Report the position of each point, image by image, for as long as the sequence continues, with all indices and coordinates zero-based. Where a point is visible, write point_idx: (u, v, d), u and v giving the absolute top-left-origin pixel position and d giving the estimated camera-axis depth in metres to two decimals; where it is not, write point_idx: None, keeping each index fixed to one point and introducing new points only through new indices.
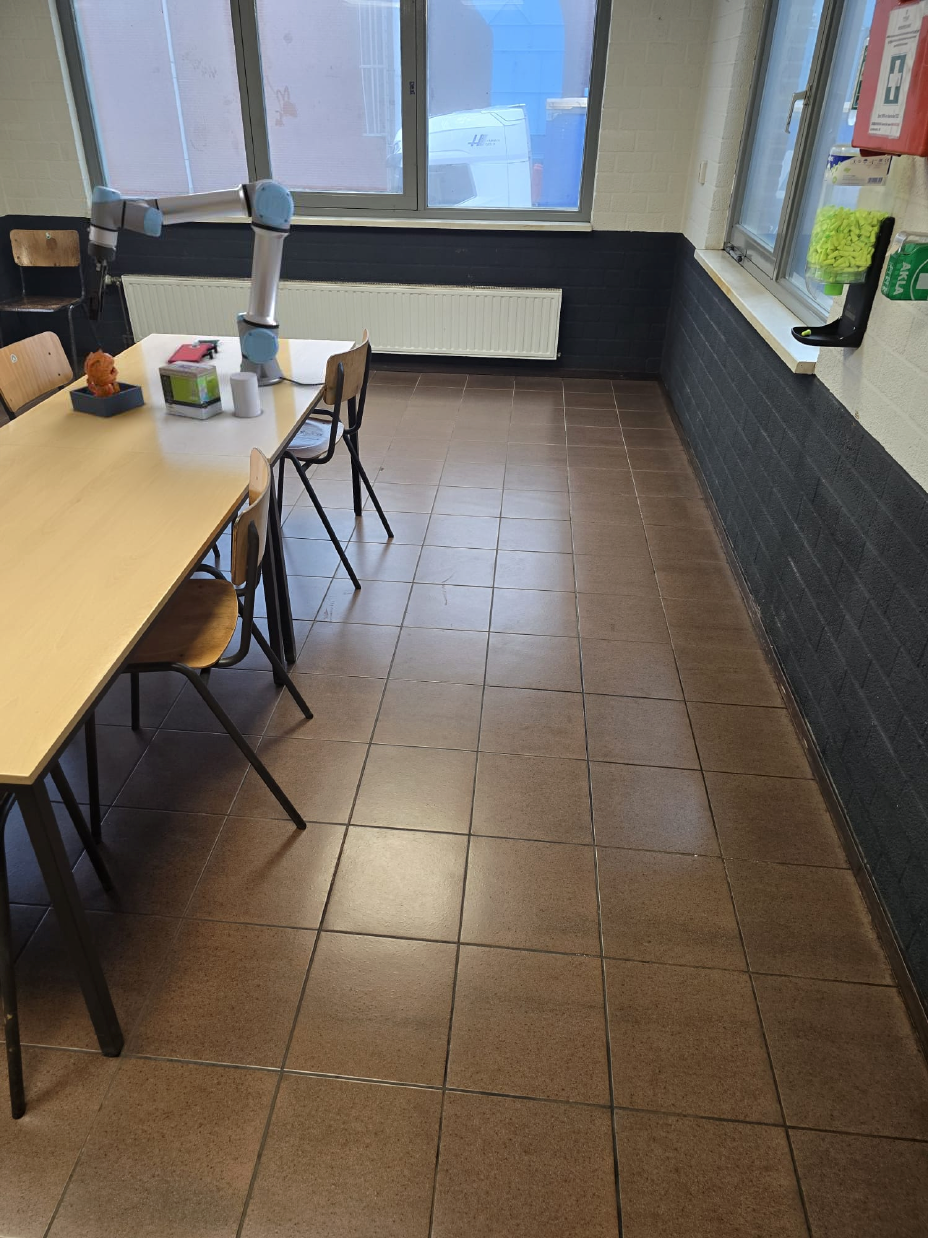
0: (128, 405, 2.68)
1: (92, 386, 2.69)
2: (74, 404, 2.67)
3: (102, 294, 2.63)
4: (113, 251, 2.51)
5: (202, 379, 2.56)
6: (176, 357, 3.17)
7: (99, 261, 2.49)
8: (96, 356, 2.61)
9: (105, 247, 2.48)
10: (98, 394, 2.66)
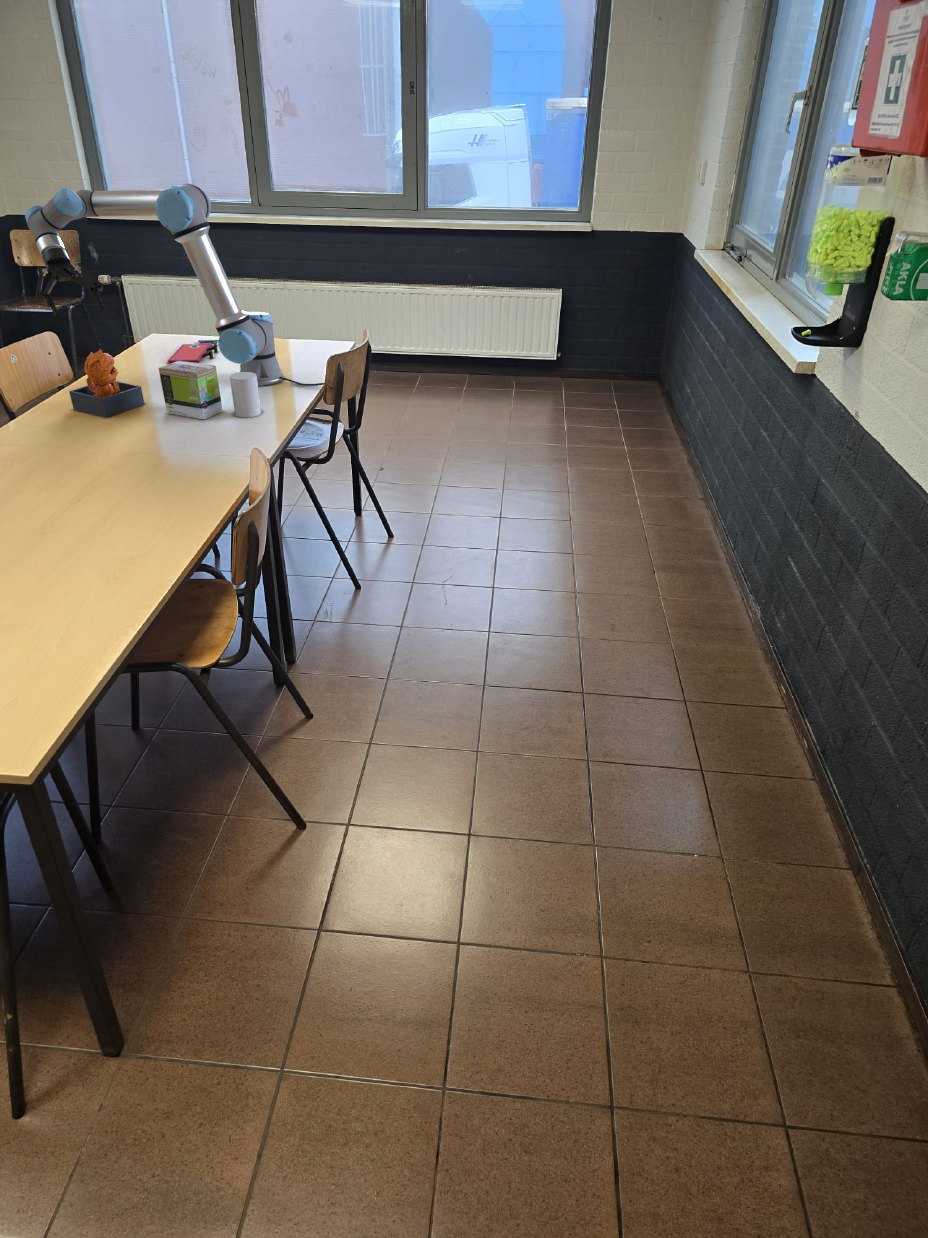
0: (128, 405, 2.68)
1: (92, 386, 2.69)
2: (74, 404, 2.67)
3: (93, 292, 2.66)
4: (50, 250, 2.61)
5: (202, 379, 2.56)
6: (176, 357, 3.17)
7: (47, 267, 2.63)
8: (96, 356, 2.61)
9: None
10: (98, 394, 2.66)
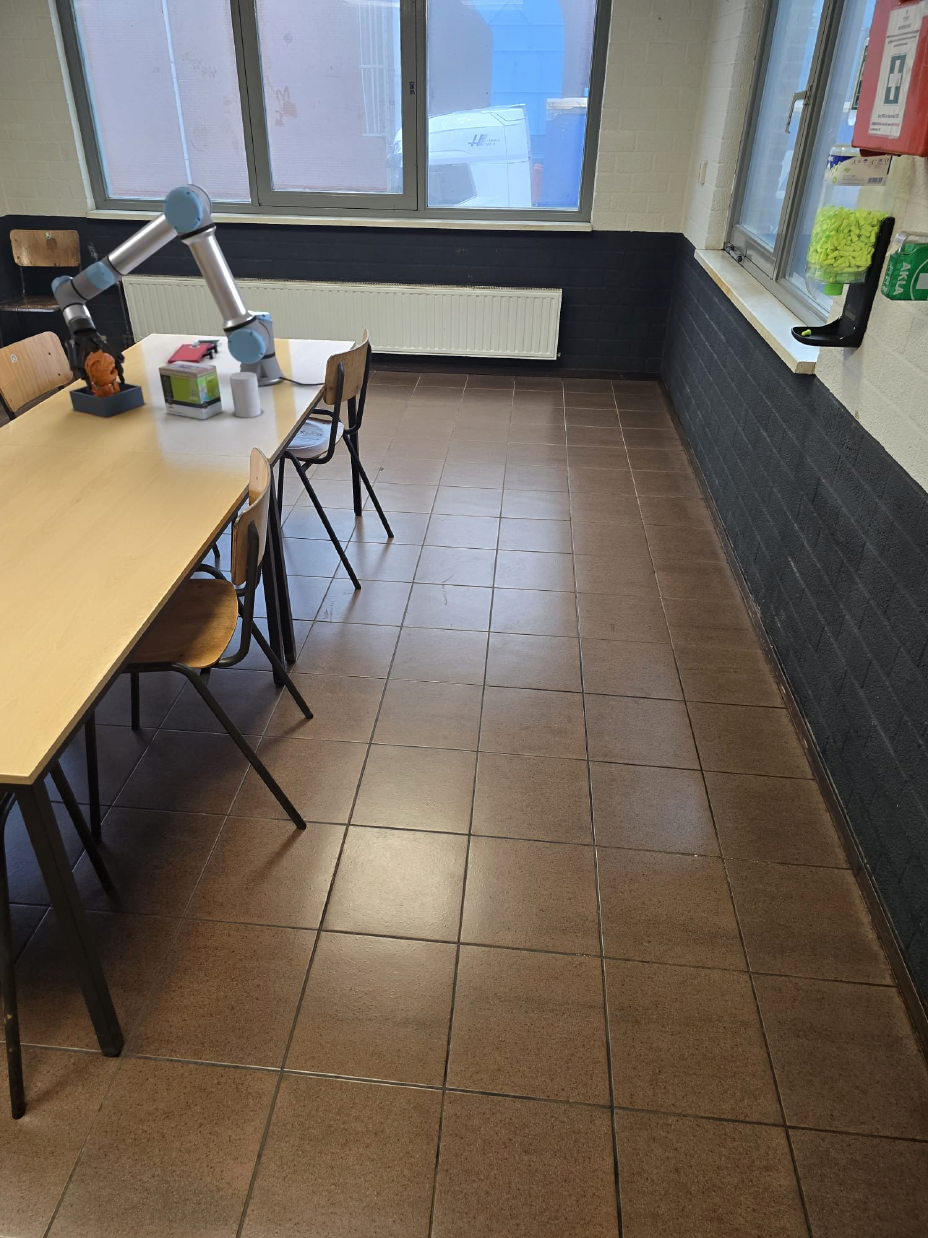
0: (128, 405, 2.68)
1: (92, 386, 2.69)
2: (74, 404, 2.67)
3: (115, 365, 2.67)
4: (76, 321, 2.63)
5: (202, 379, 2.56)
6: (176, 357, 3.17)
7: None
8: (96, 356, 2.61)
9: (70, 323, 2.64)
10: (98, 394, 2.66)
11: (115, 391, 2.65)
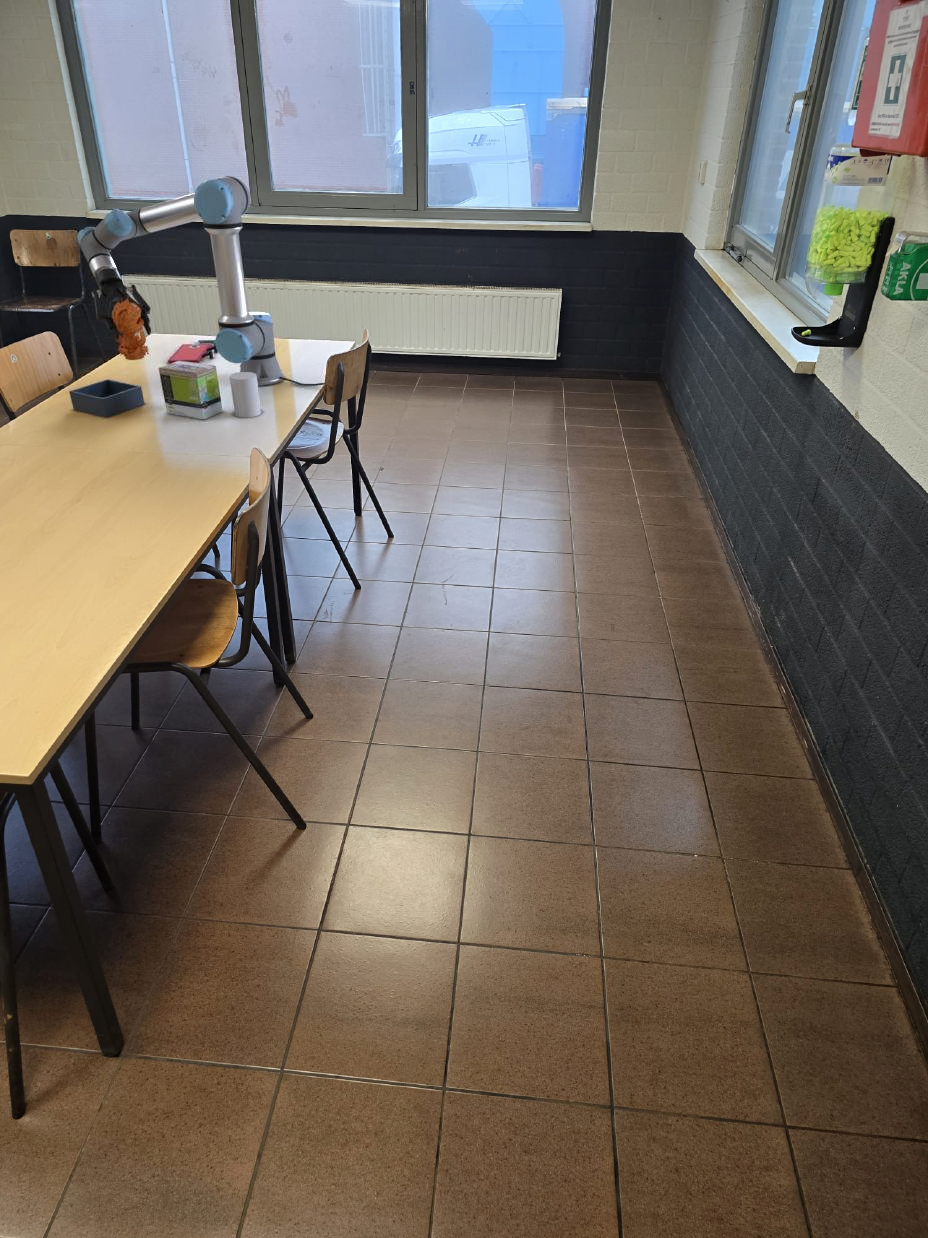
0: (128, 405, 2.68)
1: None
2: (74, 404, 2.67)
3: (141, 316, 2.70)
4: (103, 271, 2.66)
5: (202, 379, 2.56)
6: (176, 357, 3.17)
7: (100, 288, 2.67)
8: (123, 305, 2.64)
9: (96, 274, 2.67)
10: (125, 344, 2.69)
11: (142, 340, 2.68)
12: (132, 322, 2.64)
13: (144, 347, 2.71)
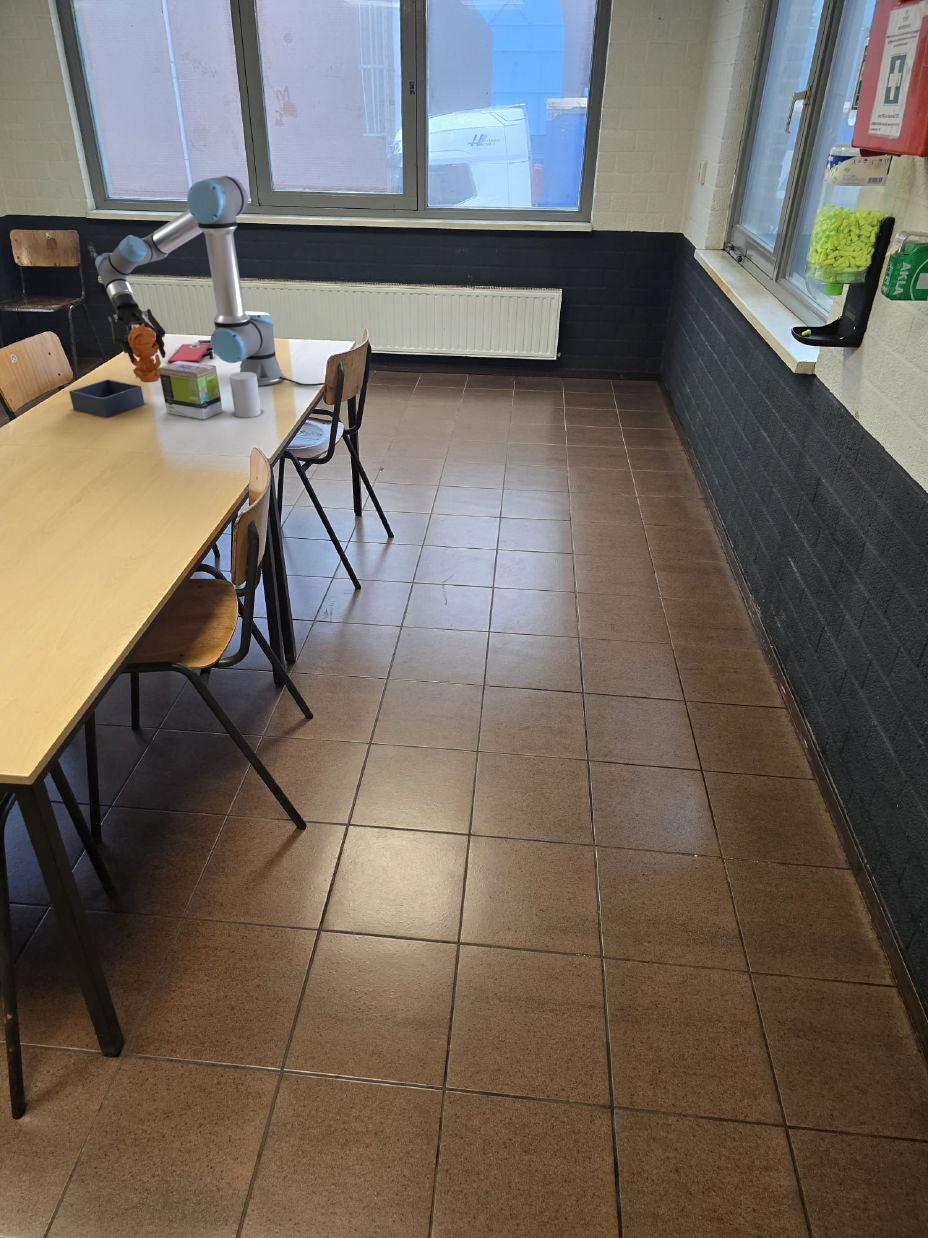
0: (128, 405, 2.68)
1: None
2: (74, 404, 2.67)
3: (156, 339, 2.78)
4: (120, 296, 2.74)
5: (202, 379, 2.56)
6: (176, 357, 3.17)
7: (116, 312, 2.75)
8: (139, 330, 2.72)
9: (113, 299, 2.75)
10: (140, 367, 2.77)
11: (156, 364, 2.76)
12: (147, 346, 2.72)
13: None
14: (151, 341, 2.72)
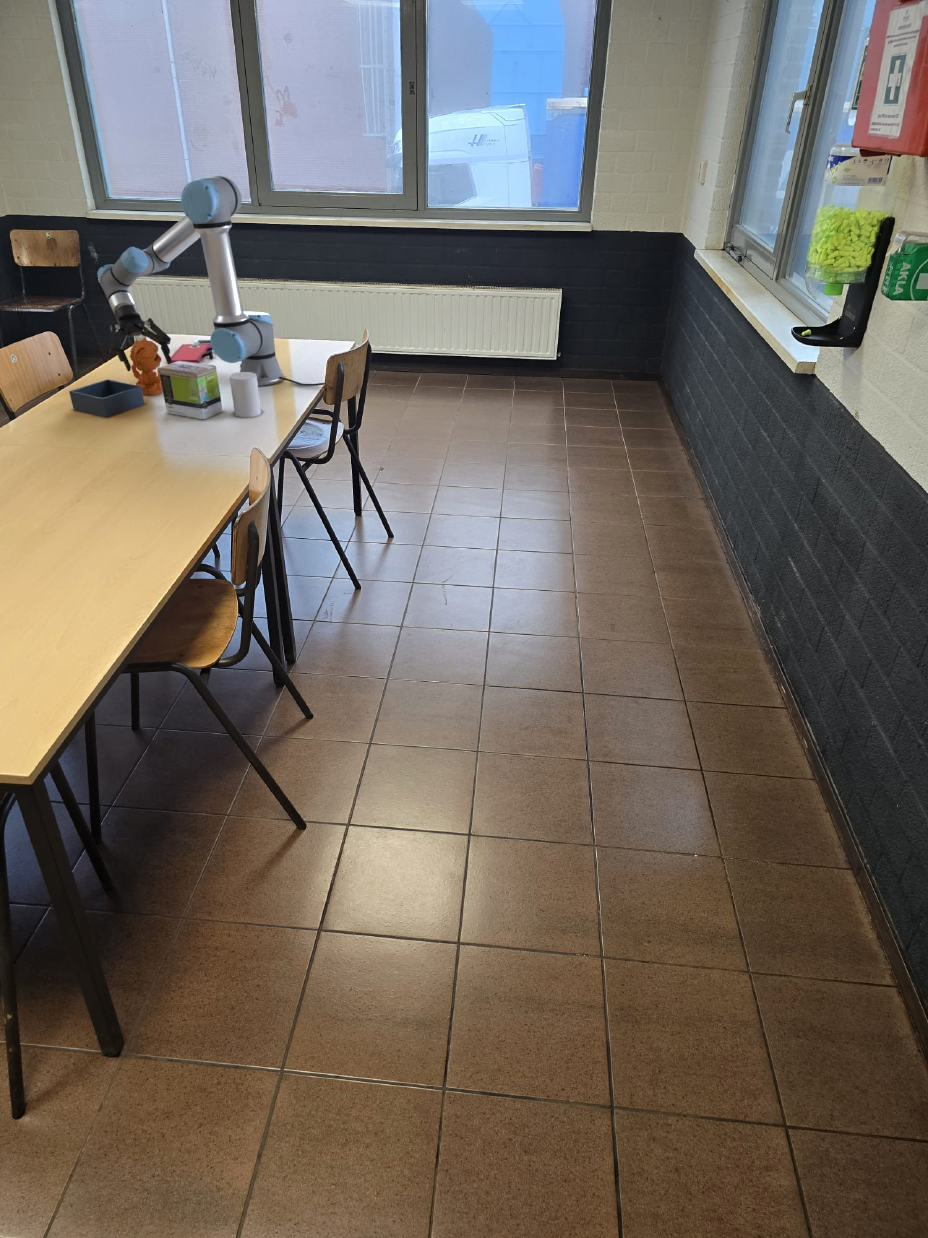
0: (128, 405, 2.68)
1: (136, 372, 2.82)
2: (74, 404, 2.67)
3: (162, 346, 2.80)
4: (122, 307, 2.76)
5: (202, 379, 2.56)
6: (176, 357, 3.17)
7: (119, 323, 2.77)
8: (141, 343, 2.74)
9: (116, 310, 2.77)
10: (142, 380, 2.79)
11: (159, 377, 2.78)
12: (150, 360, 2.74)
13: None
14: (153, 355, 2.74)
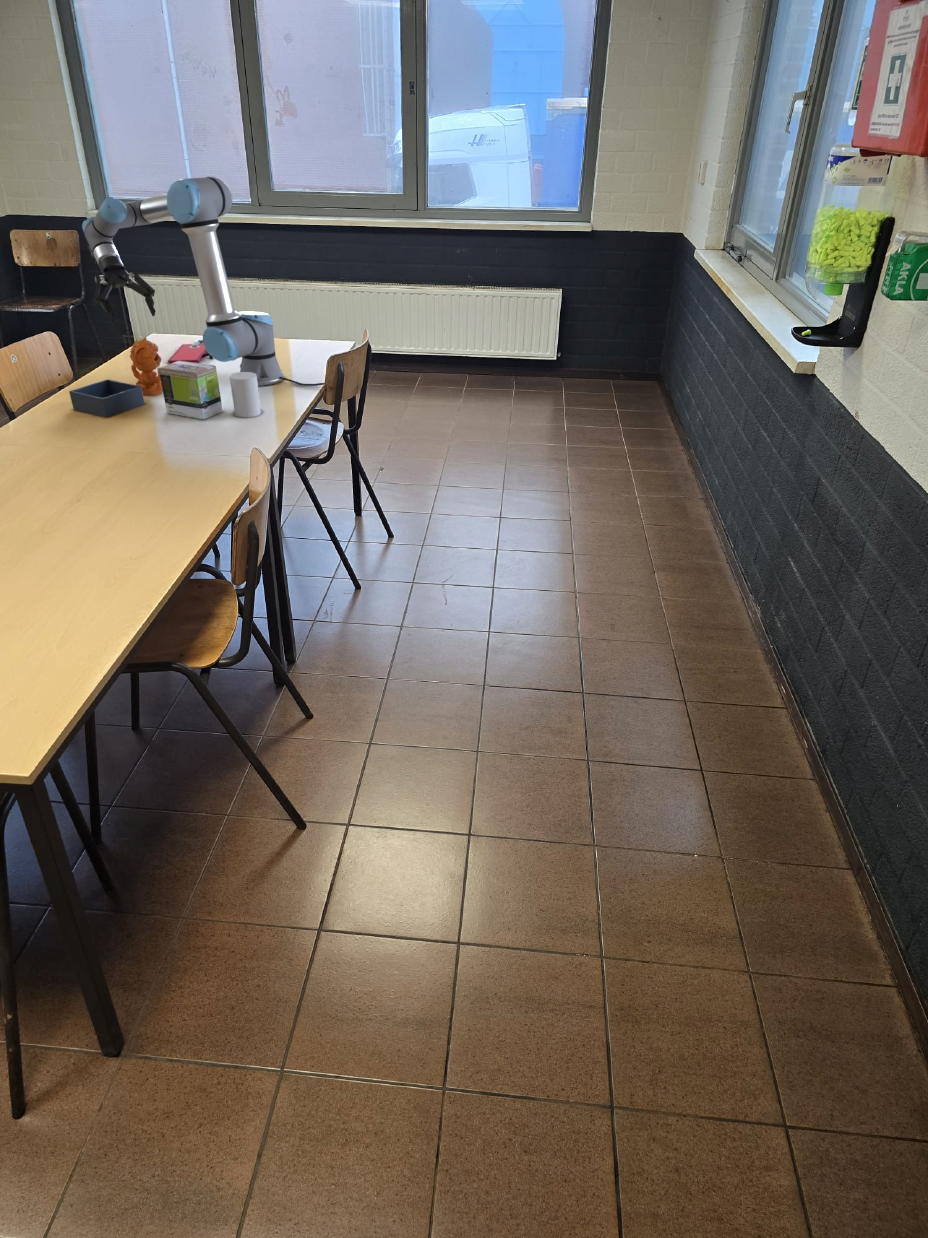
0: (128, 405, 2.68)
1: (136, 372, 2.82)
2: (74, 404, 2.67)
3: (146, 298, 2.84)
4: (106, 258, 2.79)
5: (202, 379, 2.56)
6: (176, 357, 3.17)
7: None
8: (141, 343, 2.74)
9: (100, 261, 2.80)
10: (142, 380, 2.79)
11: (159, 377, 2.78)
12: (150, 360, 2.74)
13: None
14: (153, 355, 2.74)
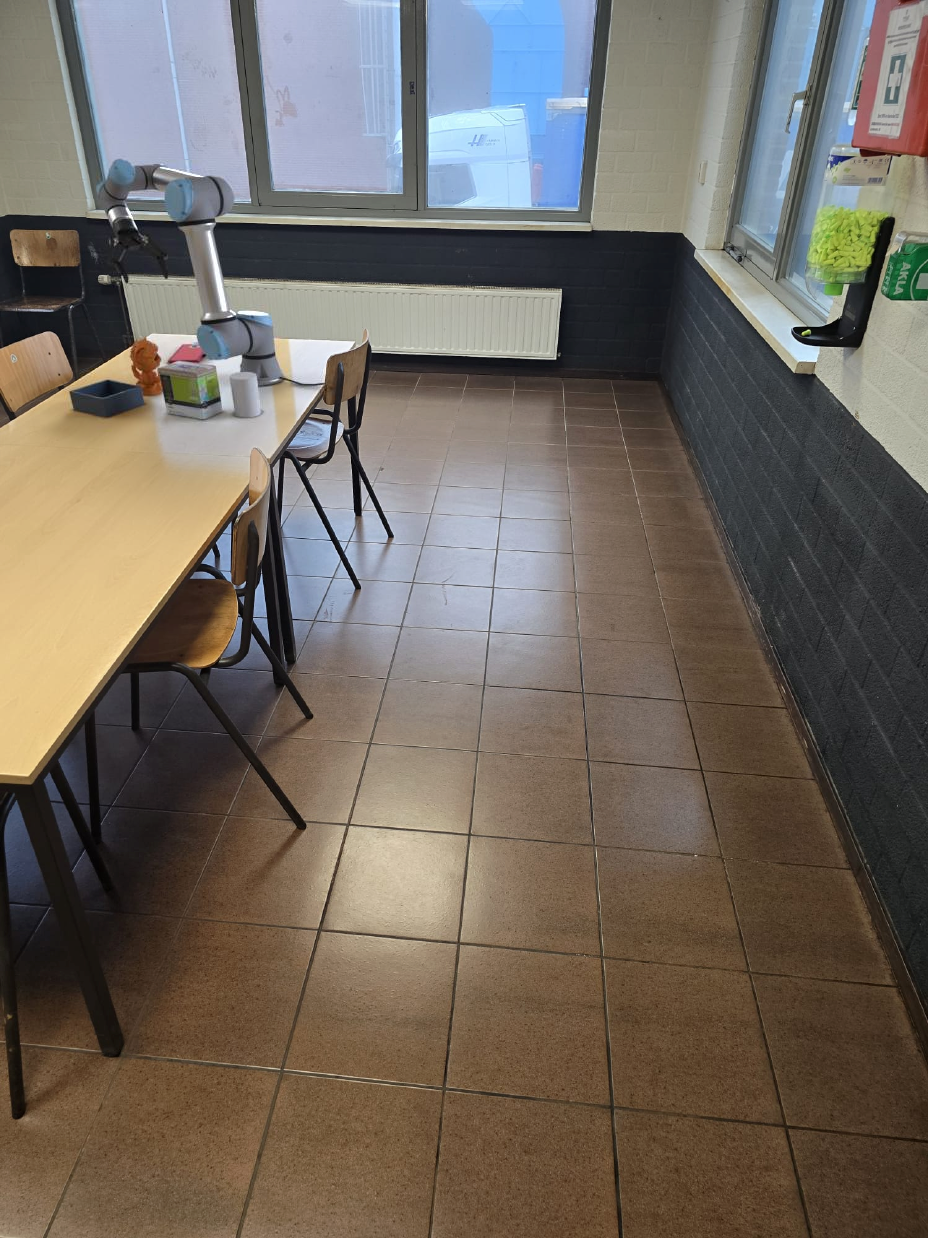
0: (128, 405, 2.68)
1: (136, 372, 2.82)
2: (74, 404, 2.67)
3: (159, 260, 2.87)
4: (120, 221, 2.82)
5: (202, 379, 2.56)
6: (176, 357, 3.17)
7: None
8: (141, 343, 2.74)
9: (114, 224, 2.83)
10: (142, 380, 2.79)
11: (159, 377, 2.78)
12: (150, 360, 2.74)
13: None
14: (153, 355, 2.74)
